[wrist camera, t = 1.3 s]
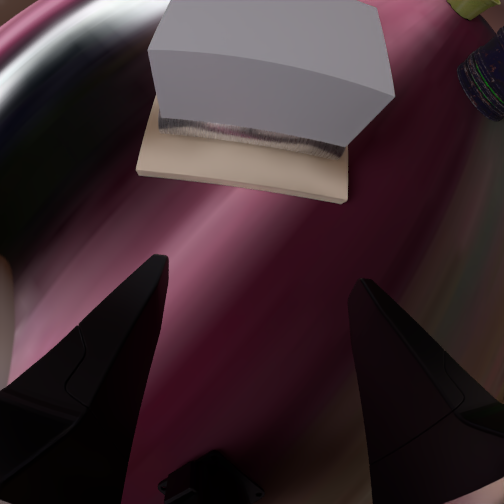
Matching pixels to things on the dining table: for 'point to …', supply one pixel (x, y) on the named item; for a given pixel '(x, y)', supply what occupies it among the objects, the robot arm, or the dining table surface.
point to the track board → (241, 165)
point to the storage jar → (485, 77)
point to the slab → (273, 65)
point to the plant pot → (471, 7)
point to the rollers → (249, 137)
